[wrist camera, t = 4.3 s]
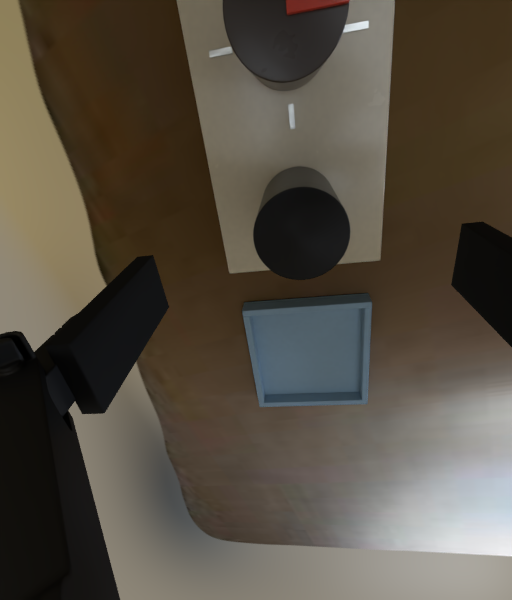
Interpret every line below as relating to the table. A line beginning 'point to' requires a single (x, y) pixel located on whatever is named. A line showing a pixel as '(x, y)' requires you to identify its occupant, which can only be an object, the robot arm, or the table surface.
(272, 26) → the knob
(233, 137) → the dial control panel
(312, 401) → the tray
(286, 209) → the tin
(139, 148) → the table surface
